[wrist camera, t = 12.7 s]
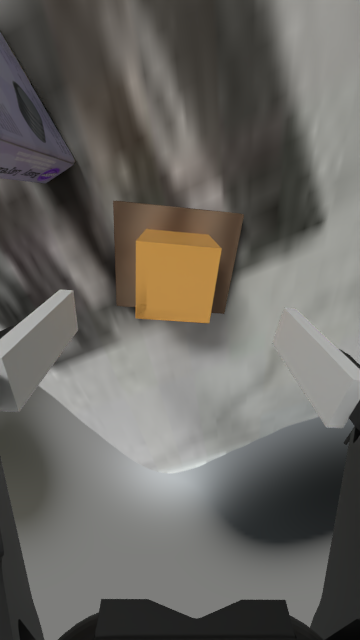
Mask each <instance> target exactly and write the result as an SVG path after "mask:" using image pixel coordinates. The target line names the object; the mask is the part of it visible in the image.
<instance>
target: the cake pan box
mask: <svg viewBox="0 0 360 640" xmlns="http://www.w3.org/2000/svg"><path fill="white" fill-rule="evenodd" d="M75 162H76V161H75V159H74V157H73V155H72V154H71V152H70V150H69V149H68V147H67V146H66V144H65V142H64V140H63V139H62V137H61V135H60V134H59V132H58V130H57V129H56V127H55V125H54V123H53V122H52V120H51V118H50V116H49V115H48V113H47V111H46V109H45V108H44V106H43V104H42V102H41V101H40V99H39V97H38V96H37V94H36V92H35V90H34V89H33V87H32V86H31V82H30V80H29V79H28V77H27V75H26V74H25V72H24V70H23V69H22V67H21V65H20V64H19V62H18V60H17V59H16V57H15V55H14V54H13V52H12V50H11V48H10V47H9V45H8V43H7V42H6V40H5V38H4V36H3V35H2V33H1V31H0V178H4V179H12V180H22V181H30V182H38V183H47V182H49V181H50V180H52V179H53V178H55V177H56V176H58V175H59V174H61V173H62V172H64V171H65V170H67V169H68V168H69V167H71V166H72V165H73V164H74V163H75Z"/></svg>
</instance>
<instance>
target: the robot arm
mask: <svg viewBox="0 0 360 640" xmlns="http://www.w3.org/2000/svg"><path fill="white" fill-rule="evenodd" d="M77 331H78V326H77V318H76V310H75V302H74V294H73V291H72V290H59V291H58V292H57V293H55V294H54V295H53V296H52V297H50V298H49V299H48V300H47V301H46V302H44V303H43V304H42V305H41V306H40V307H38V308H37V309H36V310H35V311H34V312H32V313H31V314H30V315H29V316H27V317H26V318H25V319H24V320H23V321H21V322H20V323H19V324H18V325H17V326H15V327H9V328H6V329H4V330H2V331H0V411H7V412H19V411H20V410H21V408H22V407H23V406H24V404H25V403H26V402H27V400H28V399H29V397H30V396H31V394H32V393H33V392H34V390H35V389H36V388H37V386H38V385H39V384H40V382H41V381H42V379H43V378H44V377H45V375H46V374H47V372H48V371H49V370H50V368H51V367H52V365H53V364H54V363H55V361H56V360H57V359H58V357H59V356H60V354H61V353H62V352H63V350H64V349H65V347H66V346H67V345H68V343H69V342H70V340H71V339H72V338H73V336H74V335H75V333H76V332H77ZM272 344H273V346H274V347H275V349H276V350H277V352H278V354H279V355H280V357H281V358H282V360H283V361H284V363H285V364H286V366H287V367H288V369H289V371H290V372H291V374H292V375H293V377H294V378H295V380H296V381H297V383H298V384H299V386H300V387H301V389H302V391H303V392H304V394H305V395H306V397H307V398H308V400H309V401H310V403H311V404H312V406H313V408H314V409H315V411H316V412H317V414H318V415H319V417H320V418H321V420H322V421H323V423H324V424H325V426H326V427H328V428H343V427H344V426H345V424H346V423H347V421H348V419H350V420H351V421H352V423H353V424H354V425H355V427H354V428H353V430H352V431H351V433H350V434H349V436H348V437H347V439H346V440H345V442H344V444H347V443H348V442H349V446H348V452H347V458H346V463H345V469H344V474H343V480H342V486H341V492H340V497H339V503H338V508H337V514H336V520H335V526H334V531H333V537H332V542H331V548H330V554H329V559H328V565H327V571H326V577H325V582H324V588H323V593H322V598H321V601H320V604H319V606H318V608H317V611H316V613H315V615H314V617H313V621H312V623H311V626H310V628H309V627H308V626H307V625H305V624H304V623H302V622H301V621H299V620H297V619H295V618H294V617H292V616H290V615H289V612H288V609H287V604H286V601H285V600H240V601H238V602H236V603H233V604H231V605H229V606H227V607H225V608H222V609H220V610H218V611H215V612H213V613H211V614H208V615H206V616H204V617H202V618H198V619H195V618H191V617H189V616H186V615H184V614H182V613H179V612H177V611H174V610H172V609H170V608H167V607H165V606H163V605H160V604H158V603H156V602H153V601H151V600H148V599H101V604H100V610H99V613H96V614H94V615H92V616H89V617H88V618H86V619H84V620H83V621H81V622H79V623H77V624H76V625H75V626H74V627H72V628H71V629H70V630H68V631H67V632H66V633H65V634H63V635H62V636H61V637H60V638H59V639H58V640H360V365H359V364H358V363H357V362H356V361H355V360H354V359H353V358H352V357H351V356H350V355H348V354H347V353H345V352H343V351H342V350H340V349H338V348H337V347H336V346H335V345H334V344H333V343H332V342H331V341H329V340H328V339H327V338H326V337H325V336H324V335H323V334H322V333H321V332H320V331H319V330H318V329H317V328H316V327H315V326H314V325H313V324H312V323H310V322H309V321H308V320H307V319H306V318H305V317H304V316H303V315H302V314H301V313H300V312H299V311H298V310H297V309H296V308H284V309H283V312H282V315H281V318H280V321H279V324H278V327H277V330H276V333H275V336H274V339H273V342H272ZM0 640H44V637H43V633H42V629H41V625H40V622H39V618H38V615H37V612H36V609H35V606H34V603H33V599H32V596H31V592H30V587H29V583H28V578H27V574H26V569H25V565H24V560H23V556H22V551H21V547H20V542H19V538H18V533H17V529H16V524H15V520H14V516H13V511H12V506H11V502H10V498H9V493H8V489H7V484H6V480H5V476H4V471H3V466H2V462H1V457H0Z"/></svg>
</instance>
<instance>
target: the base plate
mask: <svg viewBox="0 0 360 640" xmlns="http://www.w3.org/2000/svg"><path fill="white" fill-rule="evenodd" d="M113 208H114V240H115V271H116V302H117V306H127V307H136V240H137V239H138V238H139V237H140V235H141V234H142V233H143V232H144V231H145V230H146V229H152V230H163V231H174V232H185V233H195V234H206V235H209V236H210V237H211V238H212V239H213V240H214V241H215V242H216V243H217V244H218V245H219V246H220V247H221V248H222V250H221V256H220V262H219V268H218V274H217V280H216V286H215V292H214V298H213V304H212V309H211V313H221V314H224V312H225V307H226V302H227V297H228V292H229V287H230V282H231V277H232V272H233V267H234V262H235V257H236V252H237V247H238V242H239V237H240V232H241V227H242V222H243V217H244V215H243V214H239V213H229V212H220V211H210V210H200V209H191V208H181V207H171V206H162V205H152V204H142V203H133V202H123V201H113Z"/></svg>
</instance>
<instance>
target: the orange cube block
mask: <svg viewBox="0 0 360 640" xmlns="http://www.w3.org/2000/svg"><path fill="white" fill-rule="evenodd" d="M221 250H222V248H221V247H220V246H219V245H218V244H217V243H216V242H215V241H214V240H213V239H212V238H211V237H210V236H209V235H206V234H195V233H185V232H174V231H163V230H152V229H146V230H145V231H144V232H143V233H142V234H141V235H140V237H139V238H138V239H137V240H136V318H139V319H154V320H168V321H183V322H198V323H209V321H210V315H211V309H212V304H213V298H214V292H215V286H216V280H217V274H218V268H219V262H220V256H221Z"/></svg>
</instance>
